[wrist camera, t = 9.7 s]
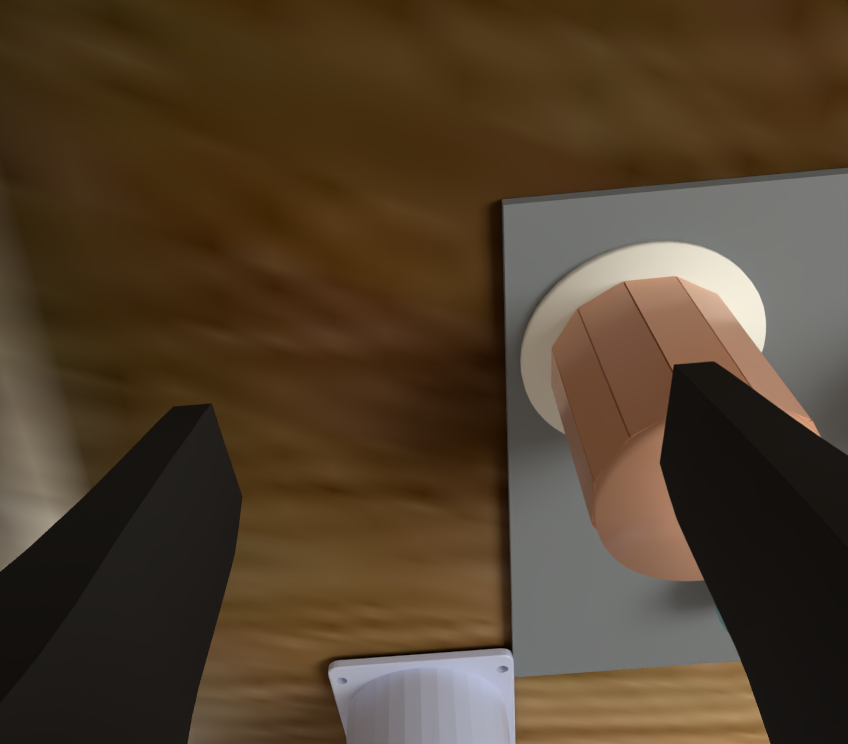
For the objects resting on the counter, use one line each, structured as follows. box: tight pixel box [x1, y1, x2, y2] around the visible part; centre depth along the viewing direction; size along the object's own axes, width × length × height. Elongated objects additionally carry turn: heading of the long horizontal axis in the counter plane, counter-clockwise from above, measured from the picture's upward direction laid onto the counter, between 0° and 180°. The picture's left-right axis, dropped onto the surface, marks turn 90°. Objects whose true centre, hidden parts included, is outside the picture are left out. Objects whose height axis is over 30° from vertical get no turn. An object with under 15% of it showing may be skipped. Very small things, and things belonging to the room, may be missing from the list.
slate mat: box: [502, 168, 848, 677], centre depth 25 cm, size 22×20×1 cm
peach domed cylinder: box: [551, 276, 821, 581], centre depth 19 cm, size 5×5×6 cm
